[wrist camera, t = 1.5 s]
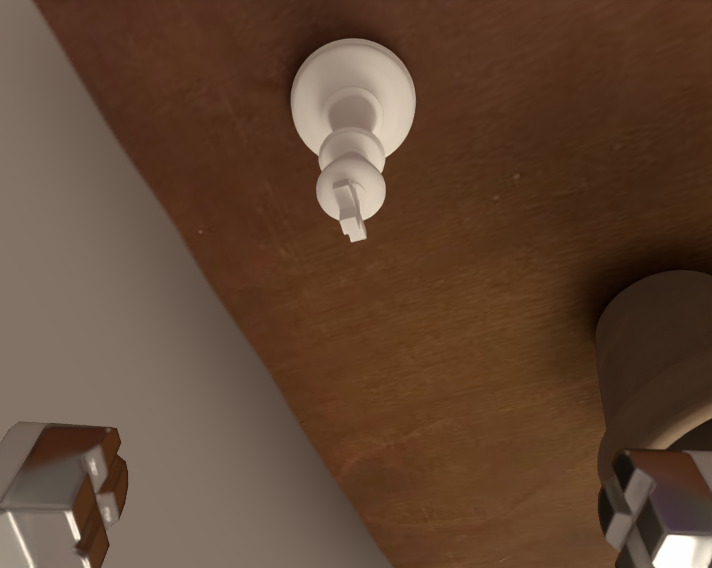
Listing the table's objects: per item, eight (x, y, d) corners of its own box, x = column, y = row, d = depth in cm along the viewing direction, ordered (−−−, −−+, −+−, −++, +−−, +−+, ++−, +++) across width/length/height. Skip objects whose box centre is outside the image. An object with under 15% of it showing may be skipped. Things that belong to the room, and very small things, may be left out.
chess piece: (397, 20, 23) (419, 110, 14) (428, 143, 25) (461, 278, 17) (272, 60, 23) (224, 166, 15) (314, 175, 26) (293, 319, 18)
